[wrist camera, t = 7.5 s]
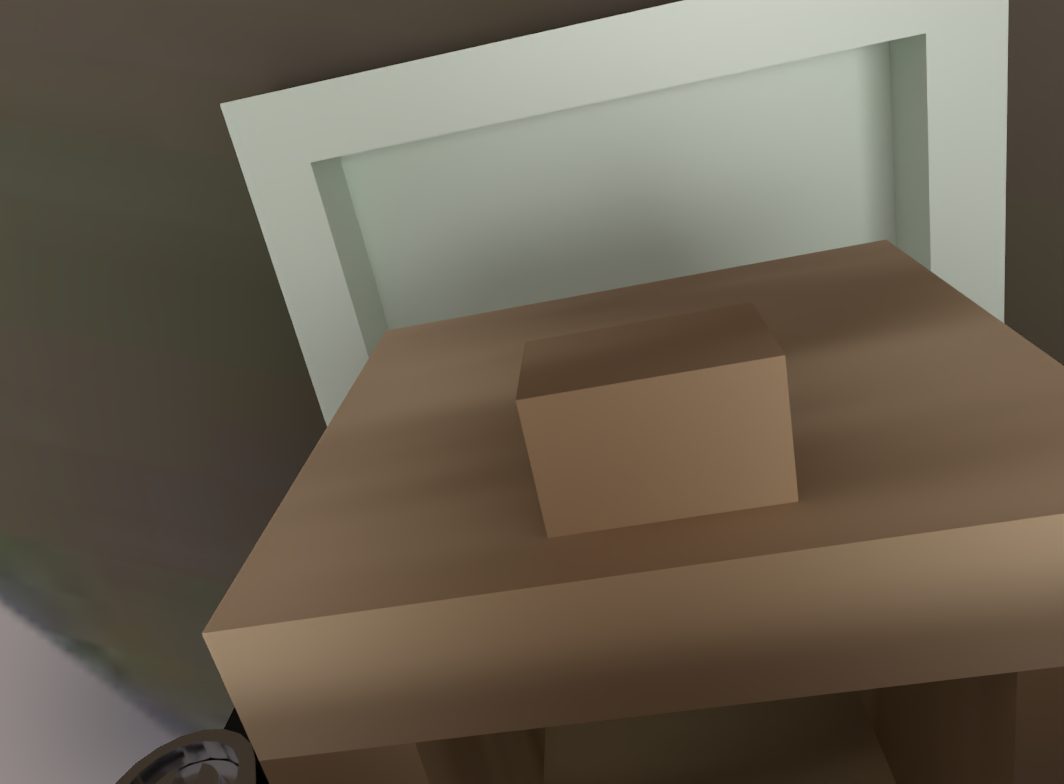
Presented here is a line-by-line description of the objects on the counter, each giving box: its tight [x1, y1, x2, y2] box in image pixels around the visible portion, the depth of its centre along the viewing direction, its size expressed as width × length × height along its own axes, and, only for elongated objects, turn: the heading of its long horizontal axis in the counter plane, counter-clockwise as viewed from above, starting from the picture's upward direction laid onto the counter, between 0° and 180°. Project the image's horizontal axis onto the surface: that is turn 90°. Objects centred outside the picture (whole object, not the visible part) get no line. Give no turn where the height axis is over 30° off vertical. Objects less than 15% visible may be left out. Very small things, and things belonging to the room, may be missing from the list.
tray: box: [220, 0, 1008, 427], centre depth 17 cm, size 12×12×2 cm
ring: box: [202, 240, 1064, 784], centre depth 9 cm, size 6×8×6 cm
